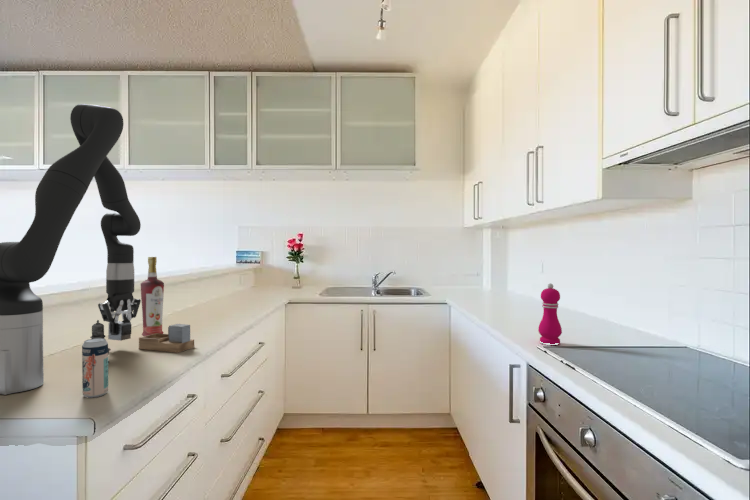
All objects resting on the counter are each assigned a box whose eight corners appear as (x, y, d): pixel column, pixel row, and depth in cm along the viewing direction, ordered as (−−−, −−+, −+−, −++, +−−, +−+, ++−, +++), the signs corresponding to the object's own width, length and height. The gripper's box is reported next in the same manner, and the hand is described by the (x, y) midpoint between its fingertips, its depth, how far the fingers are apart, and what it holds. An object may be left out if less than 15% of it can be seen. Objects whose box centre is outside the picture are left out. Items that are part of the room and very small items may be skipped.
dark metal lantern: (98, 367, 118) (98, 322, 118) (80, 365, 120) (79, 321, 119) (115, 361, 124) (115, 318, 124) (97, 360, 125) (97, 317, 125)
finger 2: (182, 343, 135) (182, 326, 135) (167, 341, 137) (167, 325, 137) (190, 340, 139) (190, 324, 139) (176, 339, 140) (175, 323, 140)
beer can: (80, 394, 97) (79, 340, 97) (105, 389, 100) (104, 336, 100) (85, 400, 94) (84, 343, 93) (111, 395, 97) (110, 340, 97)
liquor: (148, 340, 150) (148, 257, 150) (136, 338, 154) (135, 257, 153) (168, 336, 156) (168, 256, 156) (156, 334, 160) (155, 256, 160)
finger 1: (122, 340, 134) (122, 324, 134) (108, 339, 136) (108, 322, 136) (131, 338, 138) (132, 322, 138) (118, 337, 139) (118, 321, 139)
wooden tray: (177, 352, 134) (177, 341, 134) (138, 348, 139) (138, 337, 138) (194, 347, 140) (194, 336, 140) (156, 343, 145) (156, 333, 145)
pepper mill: (533, 342, 150) (534, 282, 149) (551, 340, 152) (552, 282, 151) (548, 347, 143) (548, 284, 142) (566, 345, 145) (567, 284, 145)
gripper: (109, 279, 129) (109, 339, 129) (148, 276, 143) (148, 330, 143) (90, 278, 131) (89, 337, 131) (130, 276, 145) (129, 329, 145)
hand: (120, 333), depth 137 cm, fingers closed on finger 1, 3 cm apart
